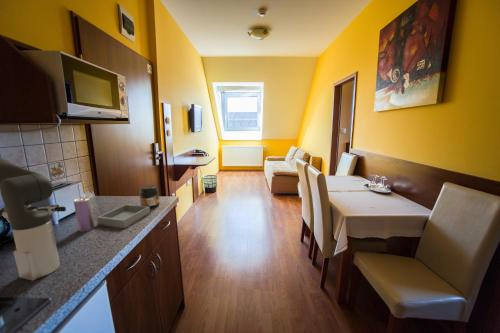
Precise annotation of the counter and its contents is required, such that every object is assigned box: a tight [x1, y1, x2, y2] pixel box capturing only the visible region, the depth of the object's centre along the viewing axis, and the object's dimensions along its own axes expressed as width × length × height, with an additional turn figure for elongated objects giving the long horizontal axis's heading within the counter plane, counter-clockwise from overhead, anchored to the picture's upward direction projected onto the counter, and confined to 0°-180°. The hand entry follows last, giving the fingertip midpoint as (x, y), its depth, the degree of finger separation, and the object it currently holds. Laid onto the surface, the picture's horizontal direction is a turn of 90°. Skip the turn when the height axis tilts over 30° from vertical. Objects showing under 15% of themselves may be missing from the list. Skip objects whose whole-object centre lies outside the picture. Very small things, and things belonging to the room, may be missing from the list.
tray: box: [96, 203, 151, 229], centre depth 115 cm, size 18×16×4 cm
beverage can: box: [73, 196, 95, 233], centre depth 103 cm, size 6×6×15 cm
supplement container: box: [138, 184, 160, 209], centre depth 132 cm, size 10×10×12 cm
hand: (58, 212), depth 101 cm, fingers open, 8 cm apart
